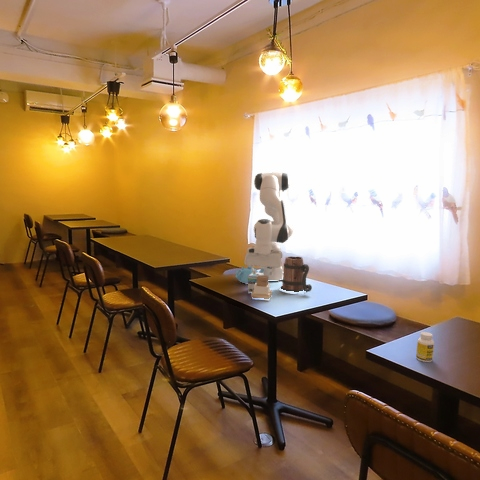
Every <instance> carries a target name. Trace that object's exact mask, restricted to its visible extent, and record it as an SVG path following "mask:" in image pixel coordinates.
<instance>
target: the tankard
mask: <svg viewBox="0 0 480 480" xmlns="http://www.w3.org/2000/svg"><path fill="white" fill-rule="evenodd" d="M309 271H310V266H309V264H304V259H303V257H302V256H286V257H285V259H284V263H283V273H284V274H283V281H281V282H282V285H281V286H280V288H281V289H283V290H286V291H294V292H299V291H303V290H304V291H306V293H308V292H311V291H312V285H311V284H309V283H308V284H307V276H308V273H309Z"/></svg>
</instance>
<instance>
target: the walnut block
mask: <svg viewBox="0 0 480 480" xmlns="http://www.w3.org/2000/svg"><path fill="white" fill-rule="evenodd" d="M268 284H269V282H268V275H258V276H257V286H263V287H267V285H268Z"/></svg>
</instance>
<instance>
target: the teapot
mask: <svg viewBox="0 0 480 480" xmlns="http://www.w3.org/2000/svg"><path fill="white" fill-rule="evenodd" d="M260 269H261V268H260ZM254 270H256V272H258V273H263V271H264V269H261V270H259V271H258V270H257V269H256V268H255V267H254ZM251 273H253V271H252V269H251V266H247V267H246V268H245V267H244V266H242V267H241V269H237V270H236V272H235V275H234V277H235V278H236V279H237V280H238V281H240V282H243V283H248V275H250V274H251ZM240 282H239V283H240Z"/></svg>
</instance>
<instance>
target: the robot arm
mask: <svg viewBox="0 0 480 480" xmlns="http://www.w3.org/2000/svg"><path fill="white" fill-rule="evenodd" d="M253 184H254V187H255V189H256V190H258V191H259V201H260V203H261V205H263V206H264V212H265V213H266V215H268V216H269V217H270V218H272V220H270V219H269V218H267V219H266V218H263V219H262V218H261V219H258V220H257V222H255V224H254V226H253V232H254V238H255V245H253V246H250V247H247V249H246V253H245V255H244V266H247V267H248V266H251V269H252V271H253V274H256V270H257V269H256V270H254V268H255V267H260V270H261V269H264V271H263V273H264V275H268V280H280V279H282V278H283V274H284V267H282V263H283V262H282V258H283V252H282V249H281V245H279V244H278V243H281V244H283V243H285V242H288V241H287V240H289V238H291V236H292V234H293V232H294V229H293V225H292V224H291V223H290V222H289V221H288V220H287V214H286V209H285V208H286V207H285V203H284V200H283V194H282V192H285V191H287V190H288V189H289V187H290V185H291V178H290V175H289V174H288V173H285V172H265V173H262V172H261V173H257V174H255V177H254V181H253ZM260 270H259V271H260Z"/></svg>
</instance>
